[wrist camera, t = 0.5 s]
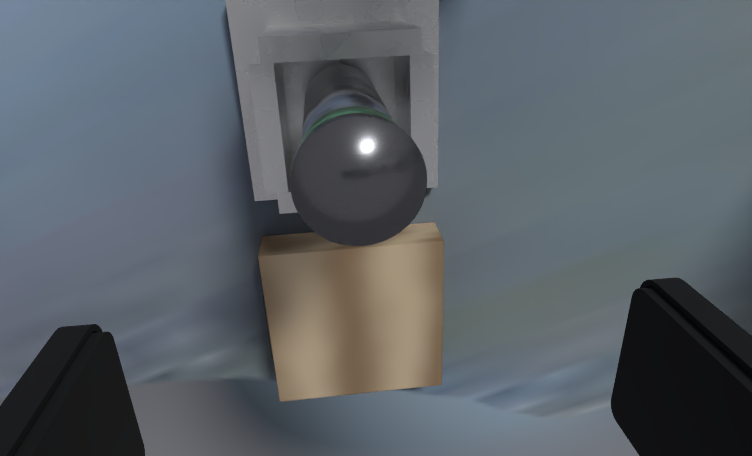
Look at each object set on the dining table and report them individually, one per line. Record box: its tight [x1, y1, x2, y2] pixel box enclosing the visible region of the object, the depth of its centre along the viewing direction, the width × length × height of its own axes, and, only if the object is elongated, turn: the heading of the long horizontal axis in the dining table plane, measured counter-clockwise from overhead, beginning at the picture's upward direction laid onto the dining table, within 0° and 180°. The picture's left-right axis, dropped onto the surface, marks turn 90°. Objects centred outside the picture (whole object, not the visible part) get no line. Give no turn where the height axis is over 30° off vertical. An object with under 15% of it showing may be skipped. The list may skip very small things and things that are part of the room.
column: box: [290, 65, 427, 246], centre depth 26 cm, size 5×5×15 cm
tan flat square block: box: [258, 222, 444, 402], centre depth 39 cm, size 12×12×3 cm
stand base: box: [225, 0, 439, 214], centre depth 31 cm, size 12×12×7 cm
